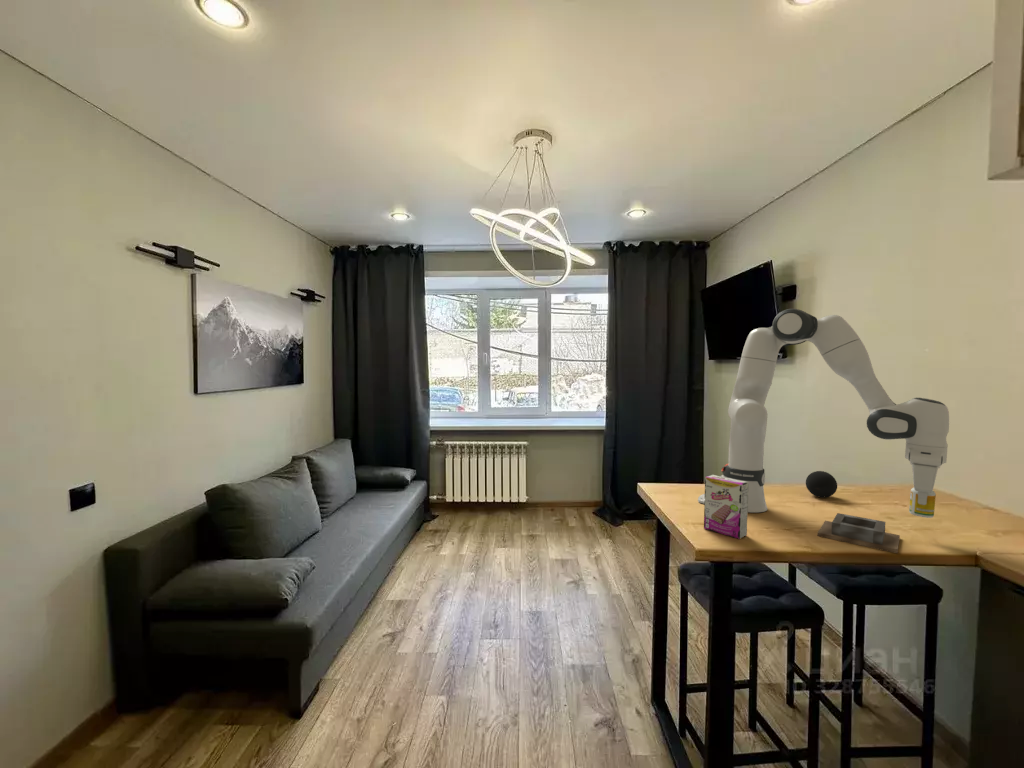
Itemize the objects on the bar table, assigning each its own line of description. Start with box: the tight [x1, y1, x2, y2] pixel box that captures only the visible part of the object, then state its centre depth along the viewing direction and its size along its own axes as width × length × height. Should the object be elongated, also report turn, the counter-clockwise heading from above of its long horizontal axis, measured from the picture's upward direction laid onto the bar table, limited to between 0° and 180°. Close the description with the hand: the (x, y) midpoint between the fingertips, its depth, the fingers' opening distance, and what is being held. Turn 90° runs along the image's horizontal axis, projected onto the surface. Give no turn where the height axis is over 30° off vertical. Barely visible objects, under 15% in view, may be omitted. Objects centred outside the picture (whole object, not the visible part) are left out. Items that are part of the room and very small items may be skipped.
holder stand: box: [816, 512, 901, 554], centre depth 131 cm, size 18×14×4 cm
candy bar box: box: [703, 474, 749, 540], centre depth 135 cm, size 11×5×16 cm, turn 39°
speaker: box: [805, 470, 838, 499], centre depth 171 cm, size 10×10×10 cm
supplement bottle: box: [908, 487, 937, 519], centre depth 130 cm, size 5×5×10 cm
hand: (922, 501), depth 130 cm, fingers closed on supplement bottle, 5 cm apart
